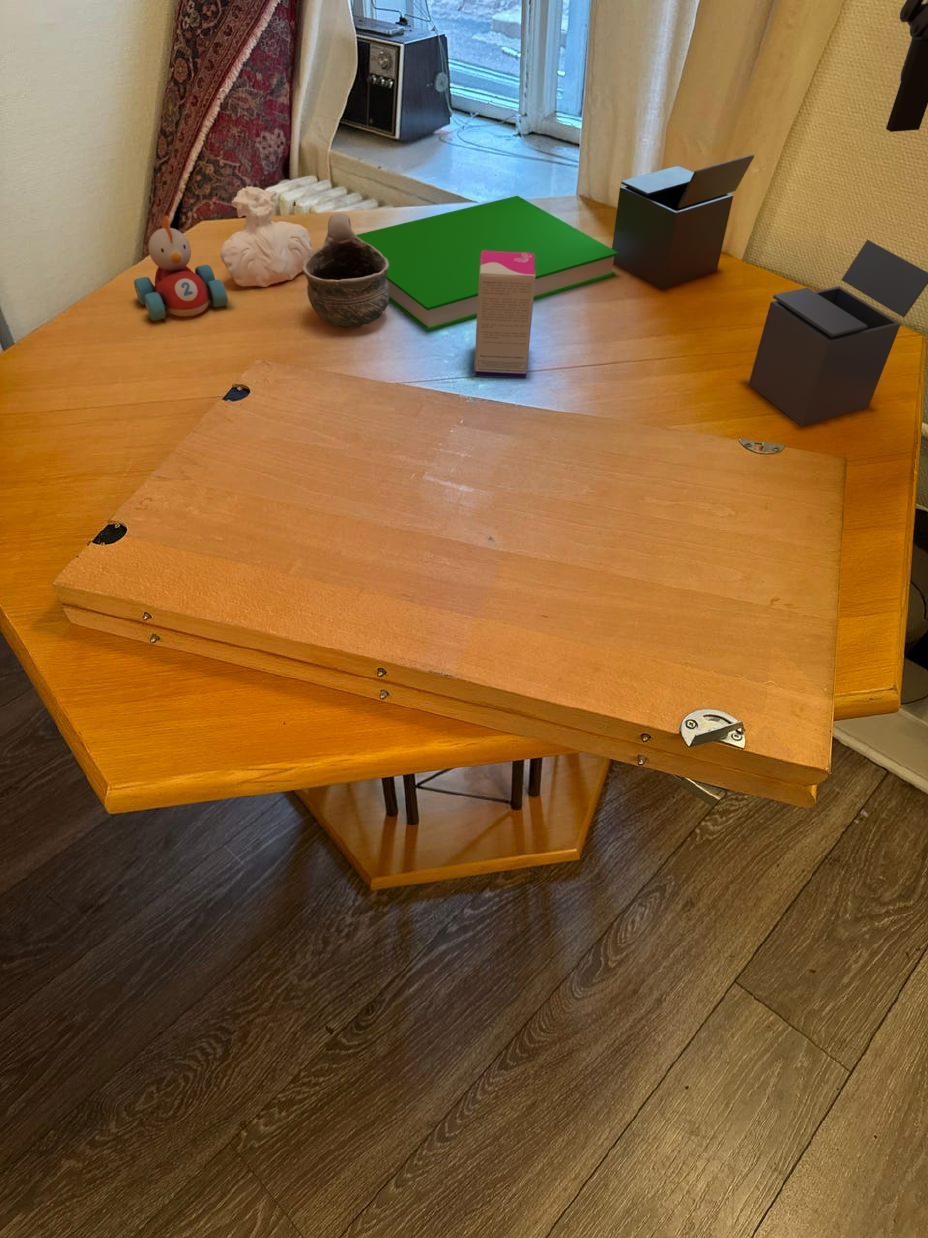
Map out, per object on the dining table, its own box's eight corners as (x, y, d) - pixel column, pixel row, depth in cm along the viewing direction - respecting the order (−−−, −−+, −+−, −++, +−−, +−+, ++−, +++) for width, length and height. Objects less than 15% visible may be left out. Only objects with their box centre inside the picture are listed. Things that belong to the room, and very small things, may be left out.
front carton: (812, 367, 99) (841, 279, 91) (868, 407, 93) (903, 316, 86) (748, 384, 96) (772, 294, 89) (801, 426, 90) (832, 334, 83)
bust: (312, 280, 117) (278, 192, 115) (331, 261, 110) (296, 168, 108) (227, 303, 112) (190, 212, 110) (242, 285, 105) (203, 188, 103)
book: (615, 275, 114) (618, 252, 112) (427, 332, 103) (427, 307, 101) (513, 215, 127) (515, 194, 125) (338, 260, 116) (335, 237, 114)
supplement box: (528, 378, 96) (535, 275, 88) (473, 376, 96) (476, 273, 88) (528, 351, 100) (535, 250, 92) (475, 350, 100) (477, 248, 92)
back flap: (734, 189, 108) (735, 190, 108) (677, 206, 104) (678, 208, 104) (753, 153, 104) (754, 155, 104) (694, 170, 100) (696, 172, 100)
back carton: (717, 270, 116) (735, 189, 108) (662, 289, 112) (677, 206, 104) (663, 244, 121) (677, 165, 114) (610, 261, 117) (620, 180, 110)
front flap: (841, 279, 91) (842, 280, 92) (902, 316, 86) (904, 317, 86) (867, 239, 89) (868, 239, 89) (932, 274, 84) (933, 275, 84)
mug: (318, 345, 101) (308, 257, 94) (296, 296, 109) (285, 212, 102) (400, 332, 103) (397, 246, 96) (372, 286, 111) (367, 203, 104)
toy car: (155, 328, 103) (133, 242, 96) (136, 297, 108) (114, 213, 101) (232, 311, 106) (216, 226, 99) (209, 281, 111) (193, 199, 104)
